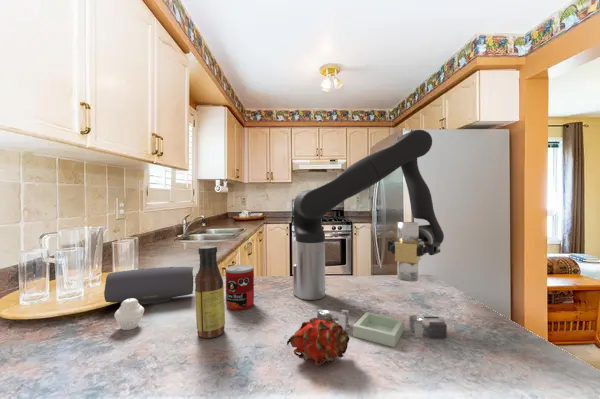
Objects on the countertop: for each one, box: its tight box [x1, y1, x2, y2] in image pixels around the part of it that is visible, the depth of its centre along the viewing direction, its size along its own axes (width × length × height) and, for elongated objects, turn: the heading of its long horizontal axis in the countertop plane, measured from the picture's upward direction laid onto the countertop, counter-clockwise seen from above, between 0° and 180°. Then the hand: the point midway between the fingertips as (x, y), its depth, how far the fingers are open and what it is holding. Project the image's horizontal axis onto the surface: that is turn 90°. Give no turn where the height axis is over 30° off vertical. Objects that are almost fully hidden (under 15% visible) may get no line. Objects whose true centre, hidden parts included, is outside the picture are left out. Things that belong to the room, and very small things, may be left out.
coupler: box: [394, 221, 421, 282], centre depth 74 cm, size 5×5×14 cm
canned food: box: [225, 264, 255, 312], centre depth 83 cm, size 8×8×11 cm
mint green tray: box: [352, 311, 405, 348], centre depth 66 cm, size 9×9×2 cm
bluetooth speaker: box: [103, 266, 194, 305], centre depth 87 cm, size 23×9×10 cm, turn 108°
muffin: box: [113, 298, 145, 331], centre depth 69 cm, size 6×6×7 cm
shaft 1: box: [316, 307, 350, 332], centre depth 70 cm, size 7×4×3 cm, turn 68°
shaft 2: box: [408, 314, 448, 340], centre depth 65 cm, size 7×4×3 cm, turn 88°
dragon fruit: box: [286, 317, 351, 367], centre depth 55 cm, size 8×8×12 cm
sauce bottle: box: [194, 245, 226, 339], centre depth 66 cm, size 6×6×20 cm
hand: (405, 251), depth 71 cm, fingers closed on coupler, 5 cm apart
